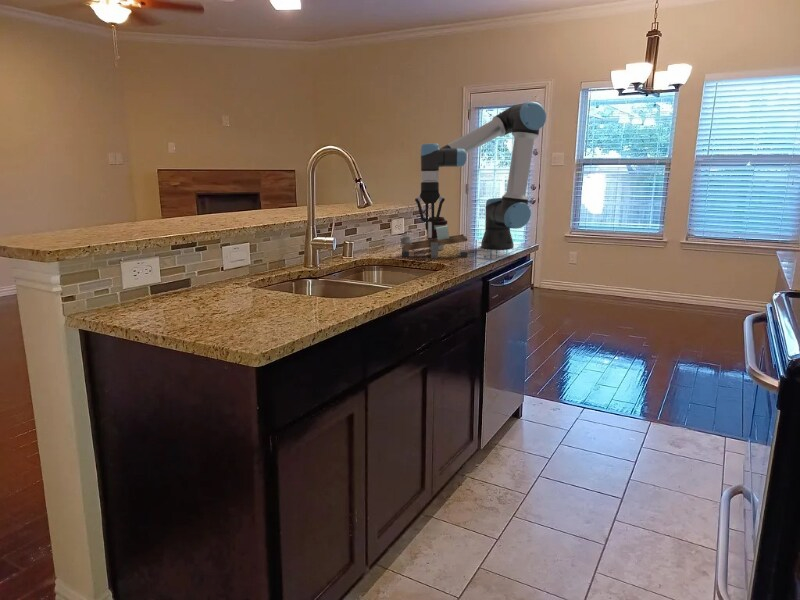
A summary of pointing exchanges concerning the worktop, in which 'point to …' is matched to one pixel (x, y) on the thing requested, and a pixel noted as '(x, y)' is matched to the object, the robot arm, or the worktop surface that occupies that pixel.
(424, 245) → the beam
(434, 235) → the coffee cup
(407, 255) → the fulcrum
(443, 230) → the light blue block
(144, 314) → the worktop surface
